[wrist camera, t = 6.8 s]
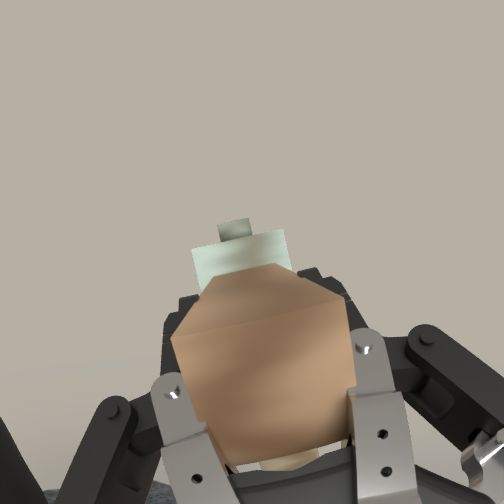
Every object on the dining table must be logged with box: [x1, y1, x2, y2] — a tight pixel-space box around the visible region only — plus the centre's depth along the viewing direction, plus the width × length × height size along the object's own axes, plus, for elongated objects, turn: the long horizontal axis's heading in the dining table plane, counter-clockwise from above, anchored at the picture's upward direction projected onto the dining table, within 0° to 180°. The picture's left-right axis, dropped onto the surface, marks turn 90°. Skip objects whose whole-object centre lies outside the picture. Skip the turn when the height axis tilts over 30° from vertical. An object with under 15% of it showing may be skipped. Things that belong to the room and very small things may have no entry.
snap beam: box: [170, 218, 357, 466], centre depth 16 cm, size 6×19×7 cm, turn 3°
